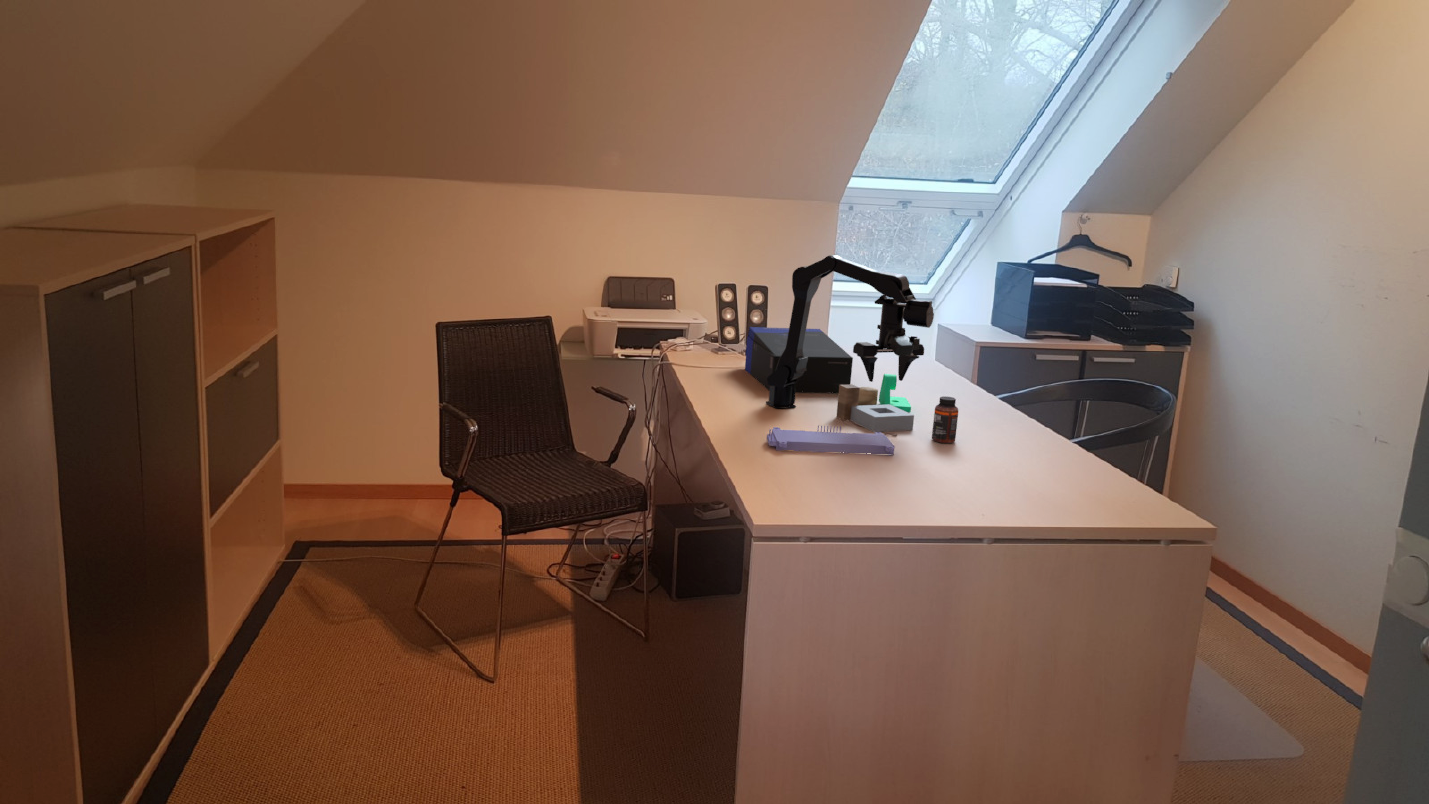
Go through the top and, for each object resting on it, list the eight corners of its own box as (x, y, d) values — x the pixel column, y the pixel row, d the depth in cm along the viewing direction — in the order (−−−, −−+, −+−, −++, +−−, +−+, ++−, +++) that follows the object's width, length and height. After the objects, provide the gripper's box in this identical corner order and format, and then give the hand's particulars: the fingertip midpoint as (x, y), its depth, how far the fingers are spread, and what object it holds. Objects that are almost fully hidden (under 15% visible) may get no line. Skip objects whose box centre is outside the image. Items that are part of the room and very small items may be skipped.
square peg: (843, 420, 283) (846, 388, 281) (836, 417, 287) (839, 384, 285) (856, 420, 285) (859, 387, 283) (849, 416, 288) (852, 384, 286)
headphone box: (814, 369, 350) (817, 327, 346) (849, 394, 317) (854, 347, 313) (742, 368, 344) (745, 325, 341) (771, 393, 311) (774, 345, 308)
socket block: (873, 432, 273) (875, 417, 272) (850, 420, 284) (851, 405, 283) (912, 429, 278) (914, 415, 277) (888, 418, 289) (889, 404, 288)
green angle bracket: (910, 416, 294) (914, 380, 292) (883, 414, 294) (887, 378, 292) (904, 406, 306) (908, 371, 303) (878, 404, 306) (881, 369, 303)
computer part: (763, 437, 263) (770, 454, 248) (765, 420, 262) (771, 436, 247) (881, 442, 265) (895, 459, 251) (883, 426, 264) (897, 442, 250)
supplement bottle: (956, 440, 271) (961, 397, 268) (953, 445, 265) (958, 401, 263) (932, 436, 273) (937, 394, 270) (929, 441, 267) (934, 398, 264)
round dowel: (862, 412, 293) (864, 391, 292) (852, 407, 298) (854, 387, 297) (879, 412, 296) (881, 391, 294) (869, 407, 301) (871, 386, 299)
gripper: (877, 328, 264) (871, 388, 267) (939, 327, 271) (932, 386, 275) (854, 320, 274) (849, 379, 277) (915, 320, 281) (909, 377, 285)
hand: (885, 380), depth 278 cm, fingers open, 9 cm apart
